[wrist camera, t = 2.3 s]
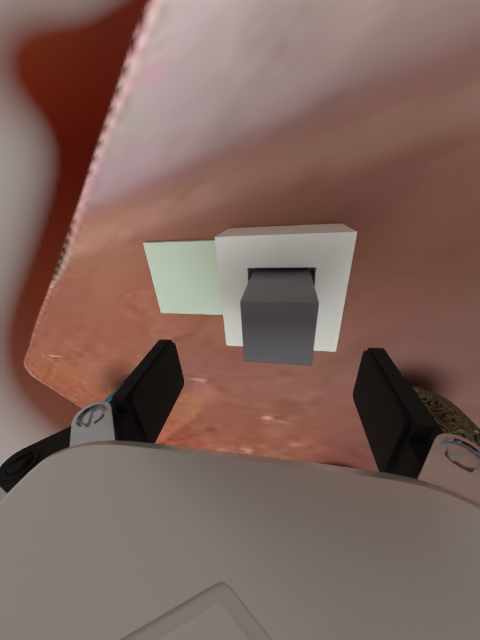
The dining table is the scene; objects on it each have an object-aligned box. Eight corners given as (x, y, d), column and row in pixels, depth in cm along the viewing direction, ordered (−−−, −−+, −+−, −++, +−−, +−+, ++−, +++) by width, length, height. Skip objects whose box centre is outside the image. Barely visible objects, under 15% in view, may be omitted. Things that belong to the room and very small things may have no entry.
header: (341, 223, 19) (357, 231, 15) (327, 323, 24) (335, 351, 20) (229, 228, 21) (214, 237, 17) (236, 320, 26) (226, 345, 22)
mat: (220, 239, 22) (218, 240, 21) (227, 312, 26) (226, 314, 25) (146, 242, 23) (143, 243, 23) (163, 310, 27) (161, 312, 27)
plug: (306, 258, 21) (319, 303, 12) (302, 301, 23) (311, 365, 14) (258, 258, 22) (240, 301, 13) (259, 300, 24) (243, 361, 15)
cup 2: (358, 398, 28) (381, 463, 22) (401, 358, 25) (445, 422, 18) (410, 421, 29) (449, 493, 22) (460, 385, 25) (527, 458, 18)
